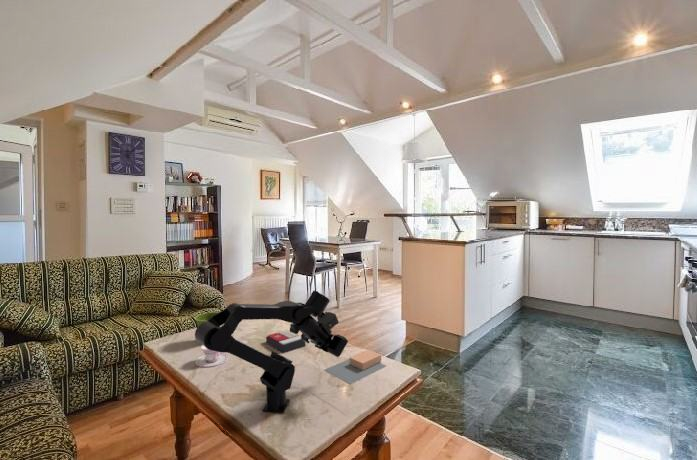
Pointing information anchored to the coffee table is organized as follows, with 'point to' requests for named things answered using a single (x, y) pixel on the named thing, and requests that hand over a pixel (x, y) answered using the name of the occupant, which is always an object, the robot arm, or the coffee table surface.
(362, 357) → the peach rectangular block
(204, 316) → the plant pot
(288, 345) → the red and grey box
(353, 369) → the mat
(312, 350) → the coffee table surface
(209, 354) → the teacup
